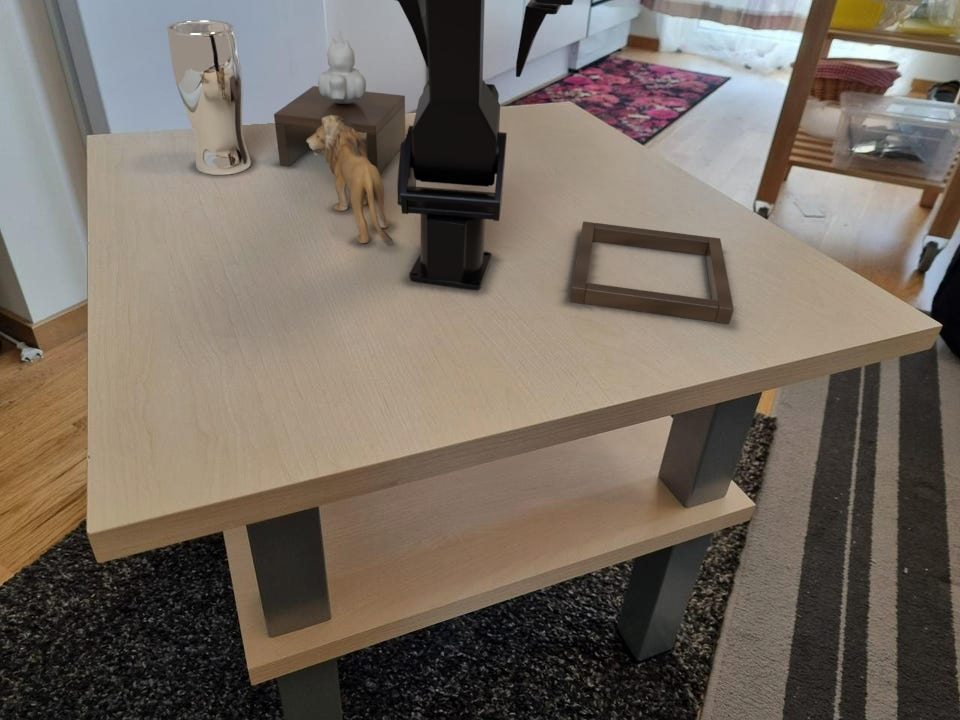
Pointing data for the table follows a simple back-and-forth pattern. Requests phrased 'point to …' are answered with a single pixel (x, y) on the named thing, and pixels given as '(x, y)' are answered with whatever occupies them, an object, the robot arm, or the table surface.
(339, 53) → the white figurine
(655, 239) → the brown rectangular frame
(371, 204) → the lion figurine
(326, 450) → the table surface
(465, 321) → the table surface
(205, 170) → the beer glass
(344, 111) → the small brown stand
